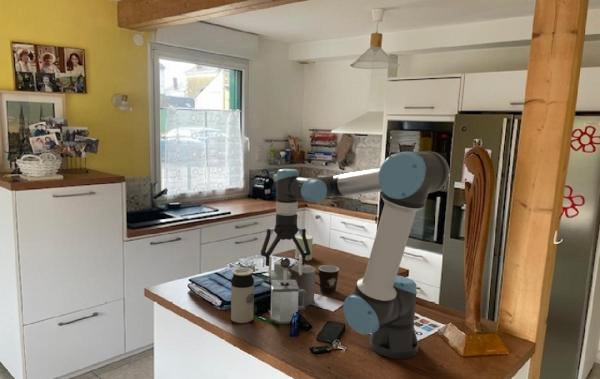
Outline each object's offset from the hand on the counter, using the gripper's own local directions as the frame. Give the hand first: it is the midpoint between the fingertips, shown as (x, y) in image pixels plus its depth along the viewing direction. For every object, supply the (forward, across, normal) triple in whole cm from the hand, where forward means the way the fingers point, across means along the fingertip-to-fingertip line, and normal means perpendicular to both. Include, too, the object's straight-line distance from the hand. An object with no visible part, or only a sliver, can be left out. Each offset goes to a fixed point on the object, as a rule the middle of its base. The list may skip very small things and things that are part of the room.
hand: (285, 274), depth 153 cm
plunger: (+12, 0, 0) cm, 12 cm away
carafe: (+17, -1, 0) cm, 17 cm away
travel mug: (+17, +15, -1) cm, 23 cm away
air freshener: (+17, -2, -34) cm, 38 cm away
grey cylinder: (+17, -9, -15) cm, 24 cm away
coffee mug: (+17, -20, -25) cm, 36 cm away
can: (+17, -18, -71) cm, 75 cm away
